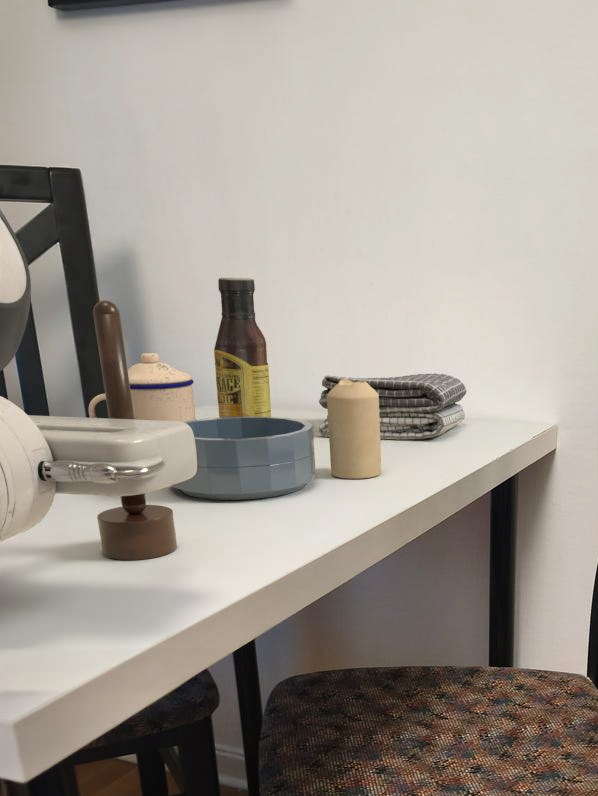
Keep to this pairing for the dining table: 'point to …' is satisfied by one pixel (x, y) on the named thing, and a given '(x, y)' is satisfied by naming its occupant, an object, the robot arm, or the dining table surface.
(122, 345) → the brown wooden pestle
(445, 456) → the dining table surface
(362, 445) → the candle
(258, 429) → the bowl
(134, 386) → the teacup with lid
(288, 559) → the dining table surface
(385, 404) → the towel
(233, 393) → the sauce bottle
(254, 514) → the dining table surface
